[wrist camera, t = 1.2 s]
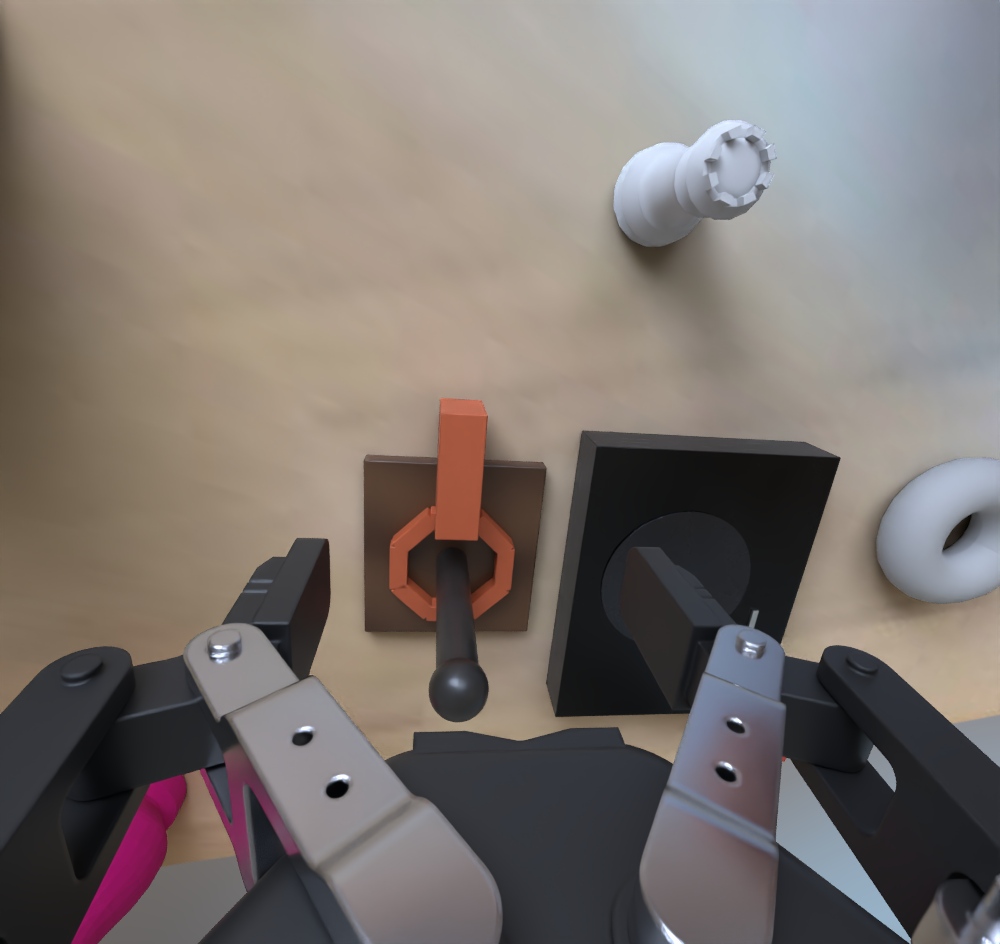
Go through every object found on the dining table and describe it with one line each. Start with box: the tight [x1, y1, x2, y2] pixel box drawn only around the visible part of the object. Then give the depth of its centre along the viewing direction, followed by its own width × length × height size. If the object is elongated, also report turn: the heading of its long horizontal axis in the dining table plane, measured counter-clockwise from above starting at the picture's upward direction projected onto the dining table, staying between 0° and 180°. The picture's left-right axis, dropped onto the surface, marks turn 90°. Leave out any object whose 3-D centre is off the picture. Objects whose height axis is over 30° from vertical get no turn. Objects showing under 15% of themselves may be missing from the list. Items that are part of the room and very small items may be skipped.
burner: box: [601, 511, 751, 640], centre depth 30 cm, size 9×9×1 cm
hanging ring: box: [389, 398, 515, 621], centre depth 28 cm, size 13×7×3 cm, turn 175°
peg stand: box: [364, 455, 546, 722], centre depth 25 cm, size 11×10×12 cm
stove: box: [546, 431, 841, 717], centre depth 32 cm, size 19×16×3 cm
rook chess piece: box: [614, 120, 777, 247], centre depth 22 cm, size 4×4×8 cm
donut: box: [876, 458, 1000, 604], centre depth 33 cm, size 10×4×10 cm
